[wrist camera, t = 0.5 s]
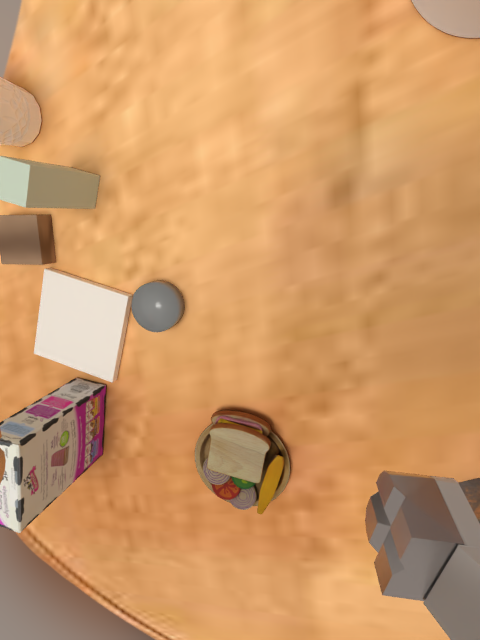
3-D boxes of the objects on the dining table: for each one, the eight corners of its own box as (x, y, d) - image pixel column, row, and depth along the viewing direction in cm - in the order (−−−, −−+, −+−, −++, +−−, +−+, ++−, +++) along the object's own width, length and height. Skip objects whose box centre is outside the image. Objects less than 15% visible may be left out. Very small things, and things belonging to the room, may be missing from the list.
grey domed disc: (145, 274, 54) (136, 276, 52) (189, 288, 53) (182, 291, 51) (136, 318, 56) (127, 323, 54) (179, 333, 55) (171, 338, 53)
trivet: (50, 267, 57) (44, 268, 56) (132, 294, 55) (128, 296, 54) (39, 350, 60) (33, 353, 59) (116, 379, 58) (112, 382, 57)
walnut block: (12, 215, 57) (-6, 215, 54) (52, 214, 56) (36, 214, 53) (18, 261, 58) (1, 263, 56) (57, 262, 57) (42, 264, 54)
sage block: (71, 167, 53) (-6, 154, 42) (100, 175, 52) (30, 165, 41) (66, 200, 54) (-10, 196, 43) (95, 208, 54) (25, 207, 42)
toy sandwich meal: (187, 477, 60) (173, 498, 55) (214, 392, 56) (202, 407, 51) (273, 515, 58) (266, 540, 53) (307, 430, 54) (303, 449, 49)
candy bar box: (74, 375, 60) (-23, 431, 45) (107, 383, 59) (19, 443, 44) (72, 447, 63) (-19, 523, 48) (103, 455, 62) (20, 536, 46)
